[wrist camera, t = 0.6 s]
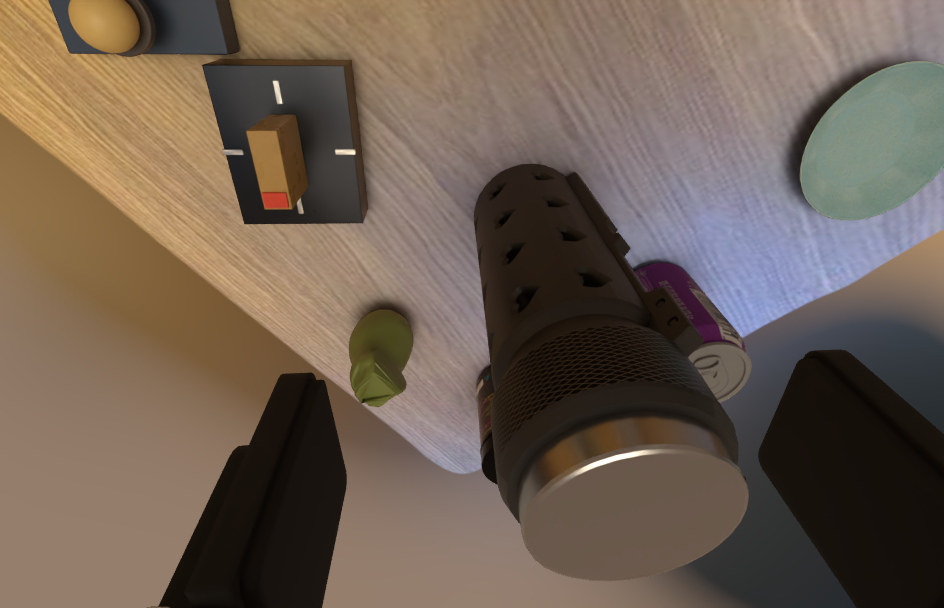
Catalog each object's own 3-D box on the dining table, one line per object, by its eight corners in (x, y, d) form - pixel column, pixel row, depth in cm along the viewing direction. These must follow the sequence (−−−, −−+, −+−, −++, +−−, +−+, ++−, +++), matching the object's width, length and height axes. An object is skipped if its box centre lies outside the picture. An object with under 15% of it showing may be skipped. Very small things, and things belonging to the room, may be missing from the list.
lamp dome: (74, -20, 27) (33, -21, 25) (142, -19, 28) (110, -20, 25) (101, 55, 29) (66, 62, 27) (165, 56, 30) (137, 62, 27)
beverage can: (608, 270, 44) (656, 353, 34) (687, 249, 43) (760, 328, 33) (617, 330, 48) (663, 421, 38) (690, 312, 47) (756, 399, 37)
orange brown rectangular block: (268, 114, 33) (244, 131, 29) (296, 114, 33) (275, 131, 29) (284, 186, 35) (263, 211, 31) (308, 186, 35) (291, 210, 31)
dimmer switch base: (218, 59, 33) (199, 65, 31) (353, 59, 34) (345, 66, 31) (255, 209, 39) (242, 225, 37) (369, 208, 40) (364, 224, 37)
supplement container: (533, 407, 53) (550, 489, 44) (472, 404, 52) (477, 487, 44) (544, 359, 49) (565, 439, 41) (479, 355, 49) (486, 435, 40)
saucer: (758, 142, 38) (774, 150, 36) (912, 18, 34) (940, 20, 32) (820, 235, 43) (838, 247, 41) (962, 137, 39) (989, 145, 37)
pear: (345, 317, 46) (322, 391, 37) (387, 288, 44) (373, 358, 36) (385, 354, 48) (372, 430, 40) (426, 327, 47) (422, 401, 38)
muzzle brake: (546, 126, 37) (447, 213, 40) (719, 369, 13) (447, 525, 17) (613, 213, 41) (517, 284, 44) (835, 514, 18) (597, 615, 21)
